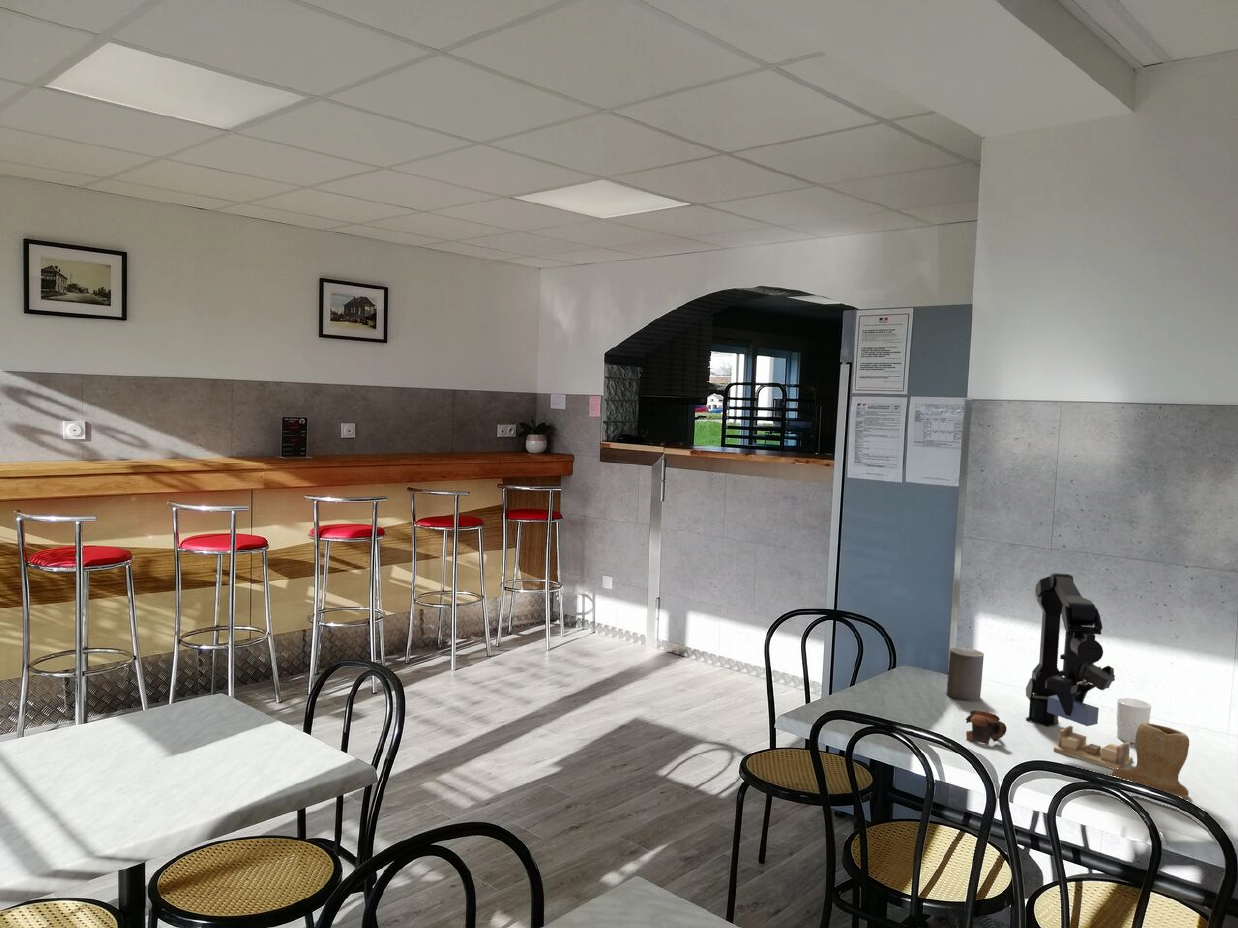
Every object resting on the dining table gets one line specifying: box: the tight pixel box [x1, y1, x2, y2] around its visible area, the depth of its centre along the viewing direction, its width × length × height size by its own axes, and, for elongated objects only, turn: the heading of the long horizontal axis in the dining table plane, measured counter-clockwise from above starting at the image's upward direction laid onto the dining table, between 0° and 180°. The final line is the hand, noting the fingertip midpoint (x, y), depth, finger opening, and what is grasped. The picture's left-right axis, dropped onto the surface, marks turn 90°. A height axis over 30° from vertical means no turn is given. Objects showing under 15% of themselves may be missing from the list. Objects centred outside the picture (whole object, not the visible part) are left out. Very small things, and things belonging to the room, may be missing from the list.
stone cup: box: [1110, 722, 1190, 799], centre depth 211 cm, size 15×12×15 cm
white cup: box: [1116, 697, 1152, 745], centre depth 245 cm, size 8×8×10 cm
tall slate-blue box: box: [1047, 695, 1099, 727], centre depth 230 cm, size 11×4×4 cm, turn 29°
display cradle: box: [1053, 725, 1134, 770], centre depth 231 cm, size 10×15×5 cm, turn 41°
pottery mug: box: [965, 710, 1008, 745], centre depth 240 cm, size 12×10×8 cm
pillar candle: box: [945, 646, 985, 702], centre depth 277 cm, size 10×10×15 cm
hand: (1072, 713), depth 230 cm, fingers closed on tall slate-blue box, 4 cm apart
